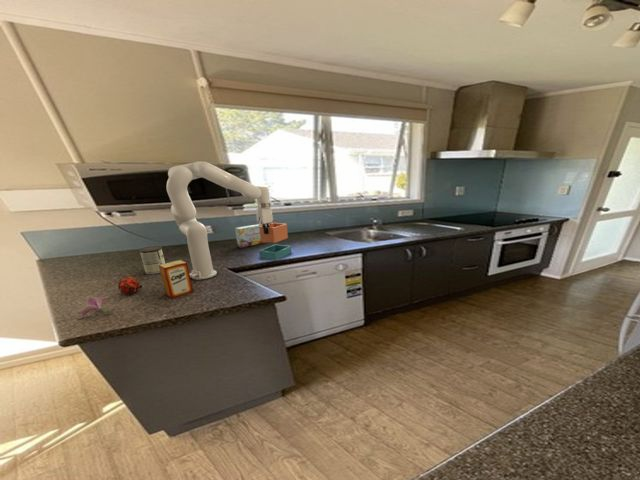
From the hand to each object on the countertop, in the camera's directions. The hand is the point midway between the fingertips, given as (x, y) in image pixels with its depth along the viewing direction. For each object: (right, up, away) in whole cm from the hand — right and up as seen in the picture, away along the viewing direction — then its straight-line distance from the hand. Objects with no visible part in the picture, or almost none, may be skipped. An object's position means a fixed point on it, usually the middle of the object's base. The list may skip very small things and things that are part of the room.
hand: (267, 233), depth 187 cm
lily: (-46, -40, -64) cm, 89 cm away
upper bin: (+2, -4, +8) cm, 9 cm away
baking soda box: (-25, -34, -44) cm, 61 cm away
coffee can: (-59, -24, -16) cm, 66 cm away
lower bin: (+1, -15, +12) cm, 19 cm away
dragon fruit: (-50, -33, -44) cm, 74 cm away
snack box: (-27, -6, +38) cm, 47 cm away
